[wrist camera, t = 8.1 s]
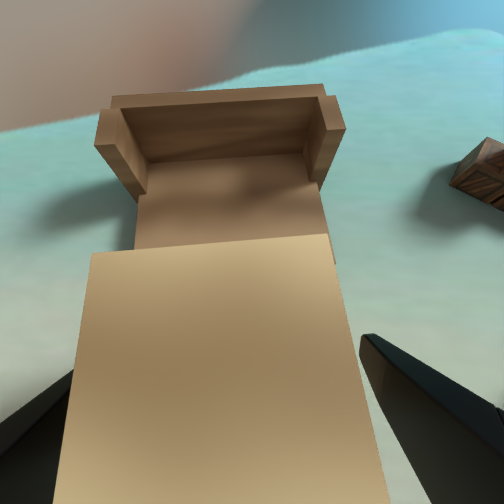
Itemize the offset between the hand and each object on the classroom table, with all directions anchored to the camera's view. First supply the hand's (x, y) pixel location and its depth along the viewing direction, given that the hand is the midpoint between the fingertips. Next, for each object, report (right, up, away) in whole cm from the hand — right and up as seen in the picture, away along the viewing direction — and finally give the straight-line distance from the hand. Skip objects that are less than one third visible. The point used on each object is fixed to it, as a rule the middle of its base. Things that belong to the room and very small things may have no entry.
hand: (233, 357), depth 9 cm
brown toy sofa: (-1, +7, +13) cm, 14 cm away
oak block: (0, -3, +8) cm, 9 cm away
